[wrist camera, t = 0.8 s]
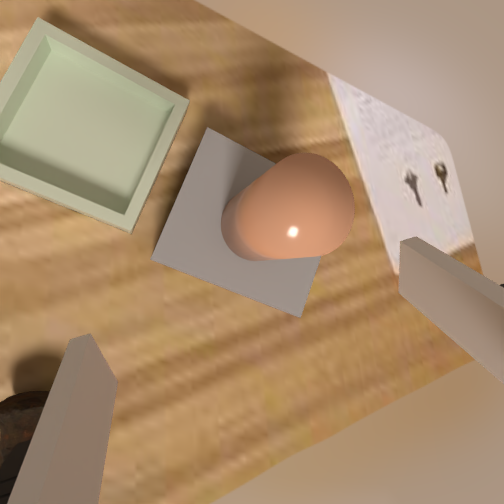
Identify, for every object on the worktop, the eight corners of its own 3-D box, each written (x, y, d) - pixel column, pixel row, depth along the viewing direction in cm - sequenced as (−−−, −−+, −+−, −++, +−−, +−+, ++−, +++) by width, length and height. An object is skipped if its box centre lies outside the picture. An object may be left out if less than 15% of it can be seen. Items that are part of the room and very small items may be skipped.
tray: (-28, 169, 26) (-44, 159, 24) (45, 38, 29) (37, 16, 26) (131, 234, 30) (131, 231, 28) (186, 113, 32) (189, 100, 30)
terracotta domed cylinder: (209, 244, 28) (245, 231, 19) (236, 178, 29) (283, 133, 20) (274, 271, 30) (336, 272, 20) (296, 208, 31) (366, 181, 22)
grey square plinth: (148, 260, 30) (150, 259, 26) (198, 144, 32) (207, 127, 29) (281, 312, 34) (300, 317, 30) (318, 206, 37) (340, 198, 33)
